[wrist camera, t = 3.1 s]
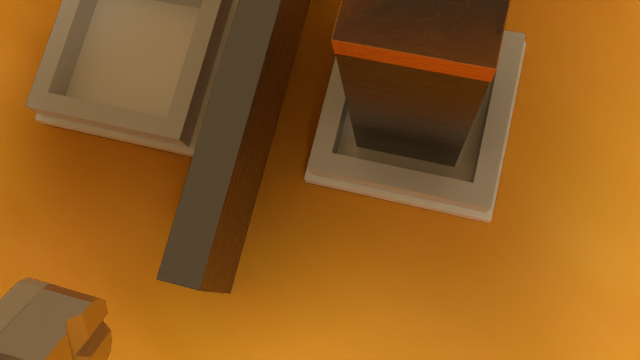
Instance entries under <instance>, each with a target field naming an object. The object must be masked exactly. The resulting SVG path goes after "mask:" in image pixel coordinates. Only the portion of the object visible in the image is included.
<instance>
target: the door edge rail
mask: <svg viewBox="0 0 640 360" xmlns="http://www.w3.org/2000/svg"><path fill="white" fill-rule="evenodd" d="M309 2H310V0H239V2H238V5H237V9H236V12H235V15H234V19H233V22H232V25H231V29H230V32H229V36H228V39H227V42H226V46H225V49H224V53H223V56H222V59H221V63H220V66H219V69H218V73H217V76H216V80H215V83H214V86H213V90H212V93H211V97H210V100H209V103H208V107H207V110H206V113H205V117H204V120H203V124H202V127H201V130H200V134H199V137H198V140H197V144H196V147H195V151H194V154H193V157H192V161H191V164H190V168H189V171H188V174H187V178H186V181H185V184H184V188H183V191H182V195H181V198H180V201H179V205H178V208H177V212H176V215H175V218H174V222H173V225H172V228H171V232H170V235H169V239H168V242H167V245H166V249H165V252H164V255H163V259H162V262H161V266H160V269H159V272H158V276H157V280H161V281H165V282H169V283H172V284H176V285H180V286H184V287H188V288H191V289H195V290H199V291H209V292H219V293H229V294H230V292H231V289H232V285H233V281H234V278H235V274H236V270H237V267H238V263H239V259H240V256H241V252H242V248H243V245H244V241H245V237H246V234H247V230H248V226H249V223H250V219H251V215H252V212H253V208H254V204H255V201H256V197H257V193H258V190H259V186H260V182H261V179H262V175H263V171H264V168H265V164H266V160H267V156H268V153H269V149H270V145H271V142H272V138H273V134H274V131H275V127H276V123H277V120H278V116H279V112H280V109H281V105H282V101H283V98H284V94H285V90H286V87H287V83H288V79H289V76H290V72H291V68H292V65H293V61H294V57H295V54H296V50H297V46H298V43H299V39H300V35H301V32H302V28H303V24H304V21H305V17H306V13H307V9H308V6H309Z"/></svg>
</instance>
